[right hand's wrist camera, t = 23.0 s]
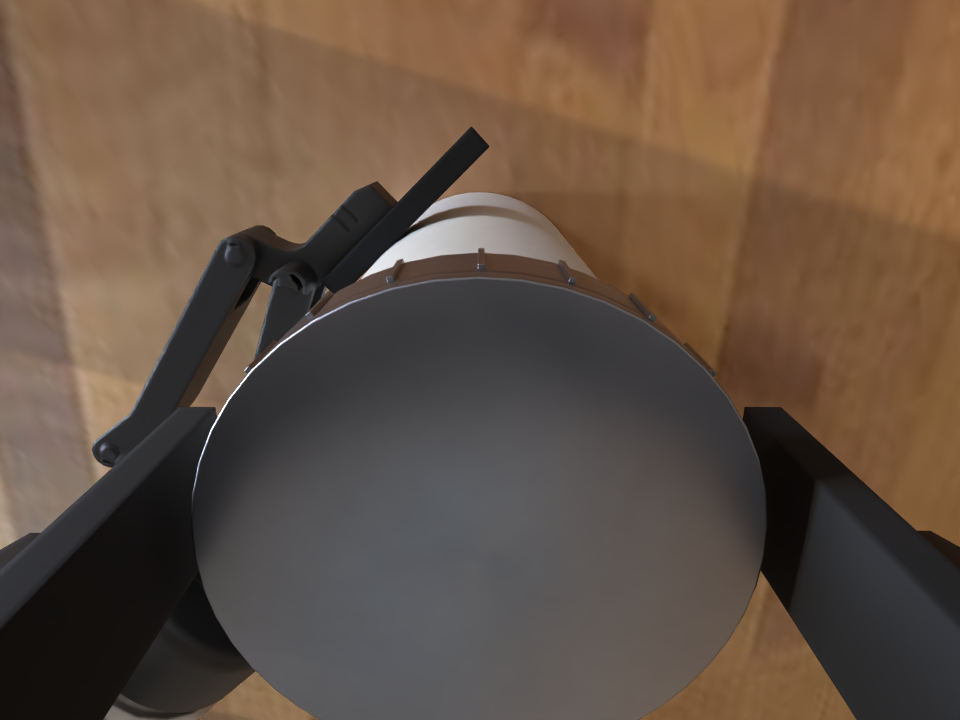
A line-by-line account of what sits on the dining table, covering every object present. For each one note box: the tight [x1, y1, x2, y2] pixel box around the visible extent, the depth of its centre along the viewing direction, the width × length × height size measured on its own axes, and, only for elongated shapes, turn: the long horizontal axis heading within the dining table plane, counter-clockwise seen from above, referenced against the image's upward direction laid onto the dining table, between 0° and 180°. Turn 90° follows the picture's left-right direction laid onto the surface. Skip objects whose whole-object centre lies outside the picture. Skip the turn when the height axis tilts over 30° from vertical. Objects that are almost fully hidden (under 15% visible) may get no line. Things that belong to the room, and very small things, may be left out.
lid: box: [191, 248, 768, 720], centre depth 11 cm, size 10×10×2 cm
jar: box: [362, 192, 597, 279], centre depth 19 cm, size 9×9×17 cm
